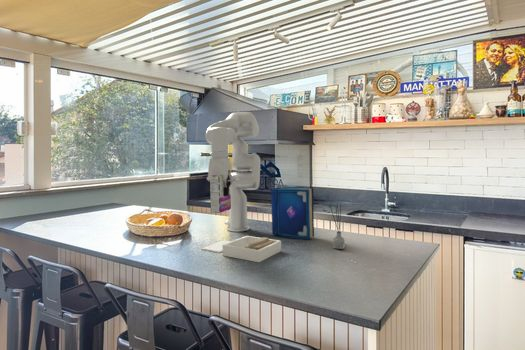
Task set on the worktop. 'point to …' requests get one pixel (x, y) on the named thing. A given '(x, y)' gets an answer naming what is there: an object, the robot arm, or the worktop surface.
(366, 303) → the worktop surface
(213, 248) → the mat
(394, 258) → the worktop surface
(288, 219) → the book
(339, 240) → the reed diffuser
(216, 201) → the candy bar box
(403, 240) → the worktop surface
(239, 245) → the box
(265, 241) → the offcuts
